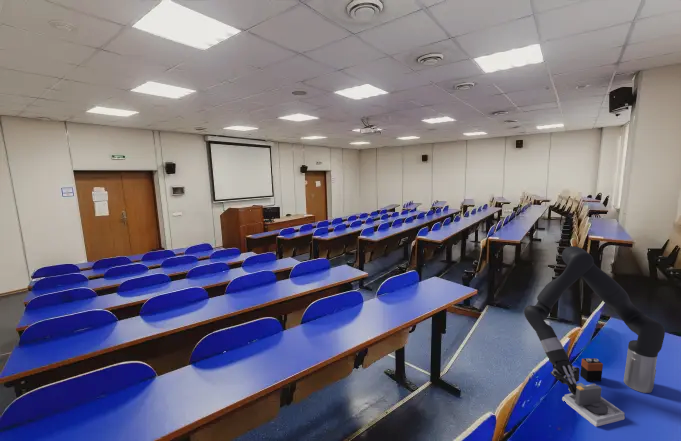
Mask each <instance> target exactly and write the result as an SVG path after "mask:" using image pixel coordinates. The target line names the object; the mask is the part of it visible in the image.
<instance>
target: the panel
mask: <svg viewBox="0 0 681 441" xmlns="http://www.w3.org/2000/svg"><path fill="white" fill-rule="evenodd" d="M575 398H576V395H573V394H572V393H571V392H569V393H566V394H564V396H562V398H561V400H562V401H563V402H564V401H565V402H566V404H567V405H568V406H569V407H570V408H572V409H573V410H574V411H576V413H578V415H580V416H581V417H582V418H584V419H585V420H587V421H588V422H589V423H590V424H591V425H593V426H594V427H601V426H604V425H607V424H613V423H616V422H620V421H624V420H625V411H623V410H621V409H620V408H618V407H617V406H615V405H614V404H613V403H611V402H610V401H608V400H607V399H605V398H604V397H602V396H601V398H600V401H602V402H603V403H604V404H605V405H606V406H607V407H608V413H607V414H605V415H599V414H595V413H592V412H590V411H588V410H587V409H585V408H584V407H583V406H578V405H577V404H576V403H575ZM565 402H564V403H565Z"/></svg>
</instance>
